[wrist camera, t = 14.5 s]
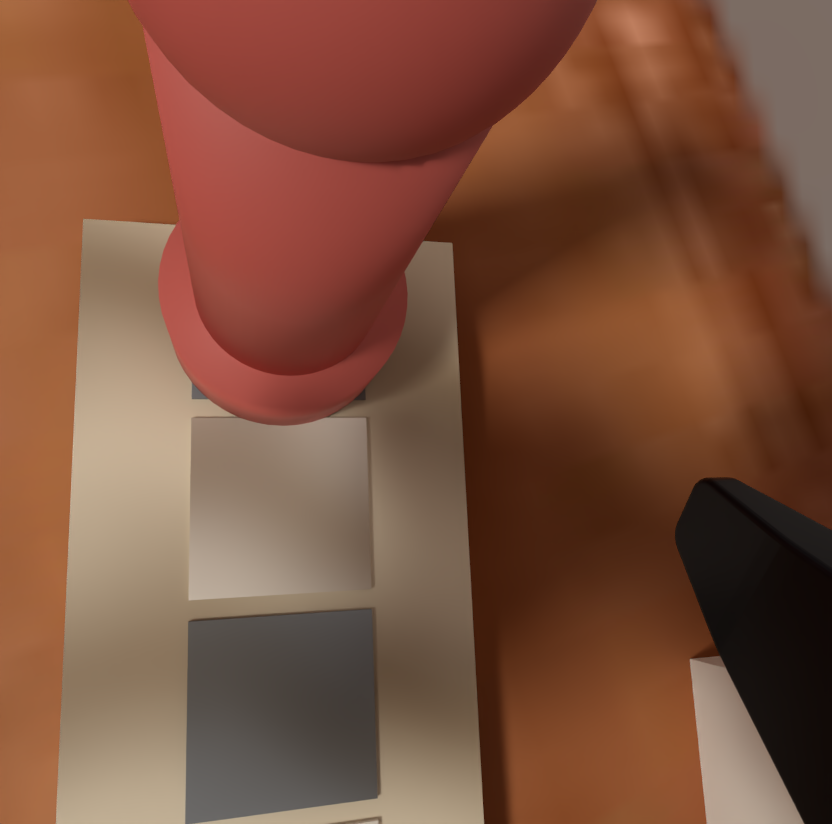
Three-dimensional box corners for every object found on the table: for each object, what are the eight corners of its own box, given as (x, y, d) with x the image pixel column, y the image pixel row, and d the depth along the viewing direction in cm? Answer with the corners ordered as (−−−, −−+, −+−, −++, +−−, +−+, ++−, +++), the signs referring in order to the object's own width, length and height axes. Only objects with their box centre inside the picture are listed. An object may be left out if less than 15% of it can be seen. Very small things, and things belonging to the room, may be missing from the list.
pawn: (390, 425, 15) (905, 22, 3) (166, 426, 14) (-214, -172, 2) (383, 227, 16) (779, -646, 4) (171, 212, 15) (-95, -1040, 3)
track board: (488, 1210, 14) (510, 1265, 13) (46, 1341, 12) (27, 1420, 11) (440, 259, 17) (453, 240, 16) (93, 239, 15) (81, 216, 14)
